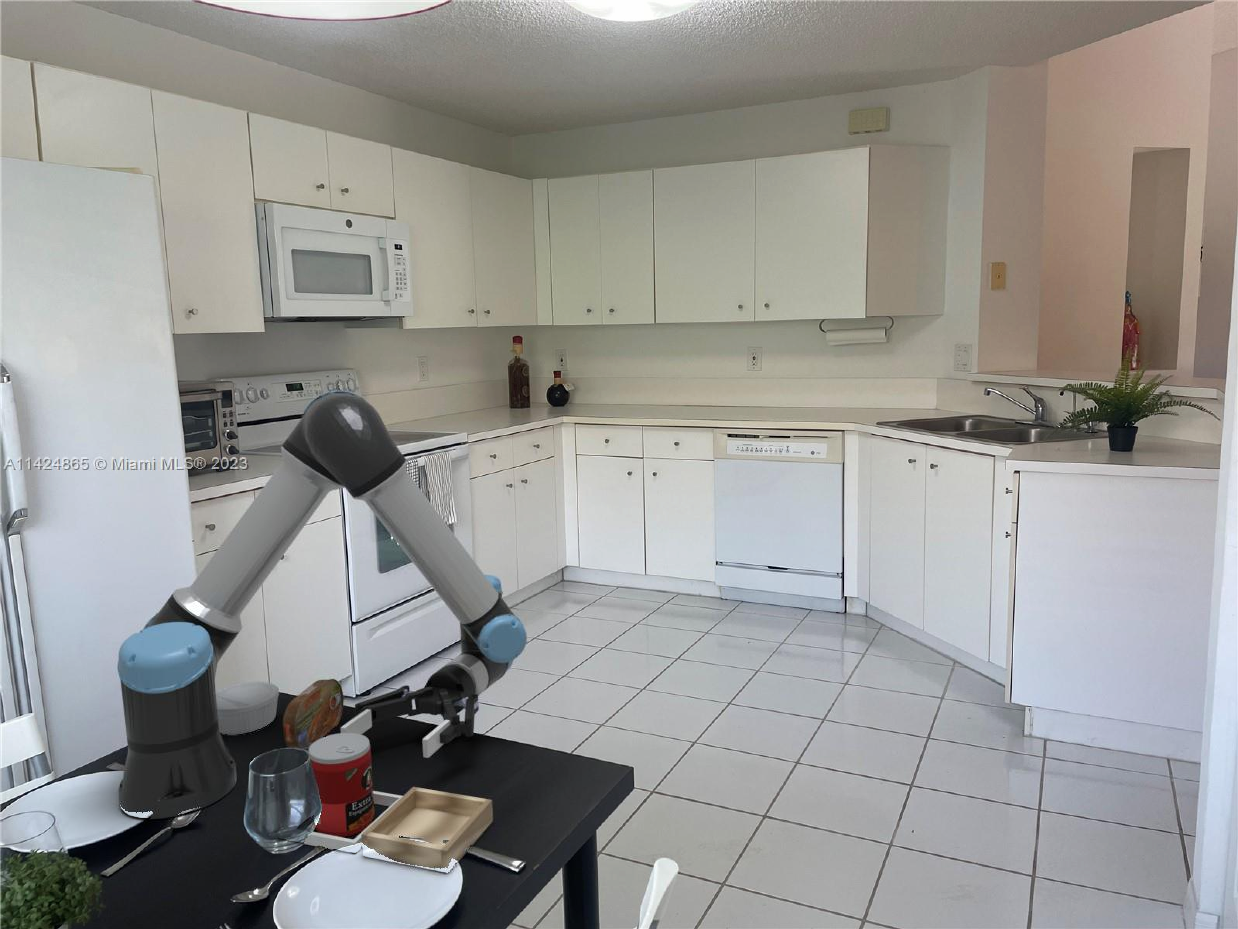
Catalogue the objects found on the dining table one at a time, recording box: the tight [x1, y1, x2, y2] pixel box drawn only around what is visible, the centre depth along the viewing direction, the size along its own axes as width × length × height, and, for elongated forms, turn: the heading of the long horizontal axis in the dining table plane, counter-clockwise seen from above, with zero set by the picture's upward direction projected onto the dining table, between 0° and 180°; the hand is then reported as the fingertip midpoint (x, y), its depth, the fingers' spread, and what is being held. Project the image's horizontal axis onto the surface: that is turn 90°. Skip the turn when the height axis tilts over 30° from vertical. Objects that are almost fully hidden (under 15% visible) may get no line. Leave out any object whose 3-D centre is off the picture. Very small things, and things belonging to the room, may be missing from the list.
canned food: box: [307, 732, 375, 838], centre depth 116 cm, size 8×8×11 cm
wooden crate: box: [361, 786, 494, 869], centre depth 112 cm, size 12×12×3 cm
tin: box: [282, 678, 344, 750], centre depth 141 cm, size 15×3×8 cm, turn 170°
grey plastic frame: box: [303, 790, 404, 851], centre depth 116 cm, size 12×12×2 cm
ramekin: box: [215, 681, 280, 736], centre depth 147 cm, size 11×11×5 cm
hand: (383, 742), depth 125 cm, fingers open, 13 cm apart
